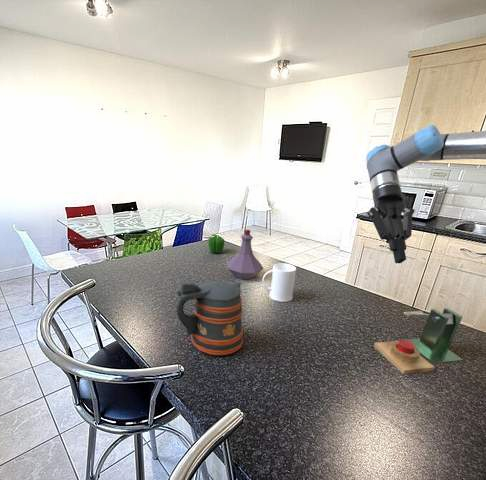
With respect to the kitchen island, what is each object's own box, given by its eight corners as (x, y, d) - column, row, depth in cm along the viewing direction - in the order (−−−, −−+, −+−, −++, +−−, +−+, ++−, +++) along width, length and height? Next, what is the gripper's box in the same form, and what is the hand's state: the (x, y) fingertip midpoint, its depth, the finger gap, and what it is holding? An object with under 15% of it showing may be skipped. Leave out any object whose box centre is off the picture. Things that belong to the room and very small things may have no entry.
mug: (261, 301, 106) (264, 270, 101) (259, 290, 114) (262, 261, 109) (294, 302, 105) (299, 272, 100) (290, 292, 113) (294, 263, 108)
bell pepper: (224, 250, 158) (225, 232, 154) (223, 255, 150) (224, 236, 146) (209, 249, 159) (209, 231, 155) (207, 254, 151) (207, 235, 147)
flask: (259, 285, 118) (264, 237, 110) (220, 279, 123) (222, 233, 115) (265, 270, 132) (270, 227, 124) (230, 265, 137) (232, 223, 129)
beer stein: (191, 369, 72) (191, 298, 64) (169, 338, 84) (166, 275, 76) (253, 347, 81) (259, 282, 73) (224, 321, 93) (227, 263, 85)
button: (405, 345, 78) (407, 339, 77) (416, 353, 75) (418, 348, 74) (393, 346, 77) (395, 340, 77) (403, 354, 74) (405, 349, 73)
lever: (401, 318, 87) (401, 310, 87) (419, 317, 87) (419, 309, 87) (439, 324, 75) (439, 315, 75) (459, 323, 75) (459, 314, 75)
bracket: (402, 342, 85) (416, 304, 80) (429, 340, 86) (444, 302, 81) (431, 366, 76) (448, 324, 70) (461, 363, 77) (480, 322, 72)
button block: (399, 346, 83) (403, 335, 81) (432, 374, 73) (437, 361, 71) (372, 349, 82) (376, 337, 80) (402, 377, 72) (406, 364, 70)
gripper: (400, 199, 93) (416, 267, 84) (359, 198, 93) (370, 265, 84) (415, 183, 86) (434, 256, 77) (370, 182, 86) (383, 254, 77)
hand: (400, 261), depth 81 cm, fingers closed
